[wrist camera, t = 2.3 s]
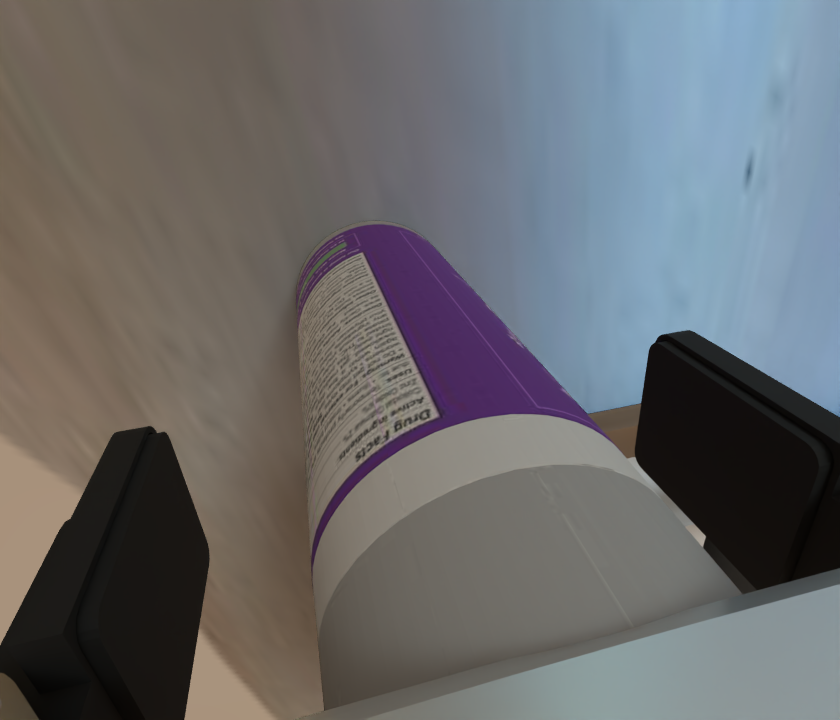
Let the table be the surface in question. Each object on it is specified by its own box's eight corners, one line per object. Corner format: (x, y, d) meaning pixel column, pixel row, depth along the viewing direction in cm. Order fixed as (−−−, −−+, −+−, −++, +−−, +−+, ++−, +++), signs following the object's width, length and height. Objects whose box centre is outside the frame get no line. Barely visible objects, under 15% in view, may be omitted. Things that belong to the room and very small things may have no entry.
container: (478, 278, 16) (1184, 992, 4) (388, 389, 18) (678, 1236, 5) (357, 185, 14) (1018, 1094, 1) (263, 316, 15) (169, 1494, 3)
